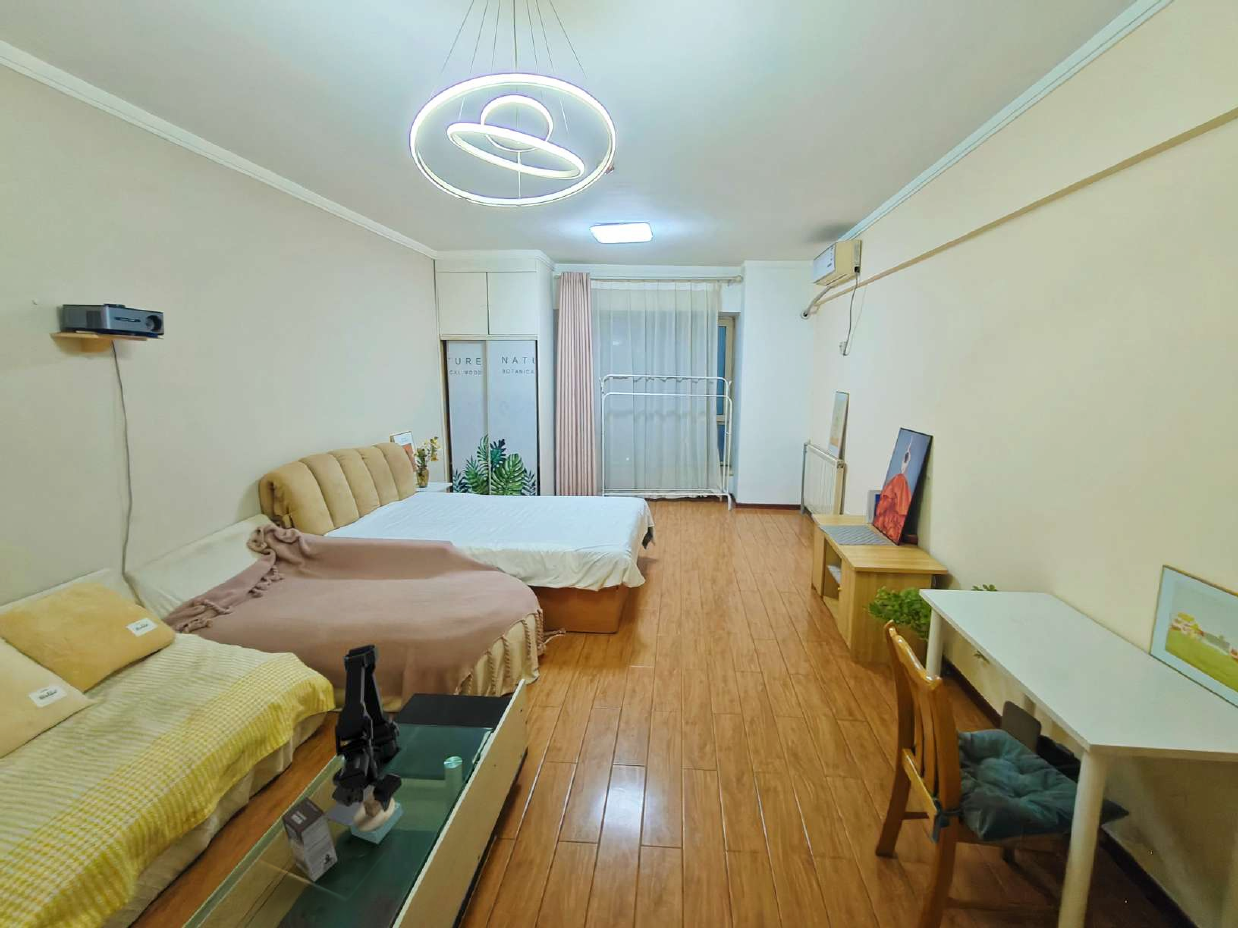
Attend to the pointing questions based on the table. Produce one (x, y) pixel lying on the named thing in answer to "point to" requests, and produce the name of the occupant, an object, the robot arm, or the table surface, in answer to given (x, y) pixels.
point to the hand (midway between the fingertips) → (373, 805)
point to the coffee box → (309, 838)
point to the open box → (380, 832)
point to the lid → (372, 814)
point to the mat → (347, 810)
